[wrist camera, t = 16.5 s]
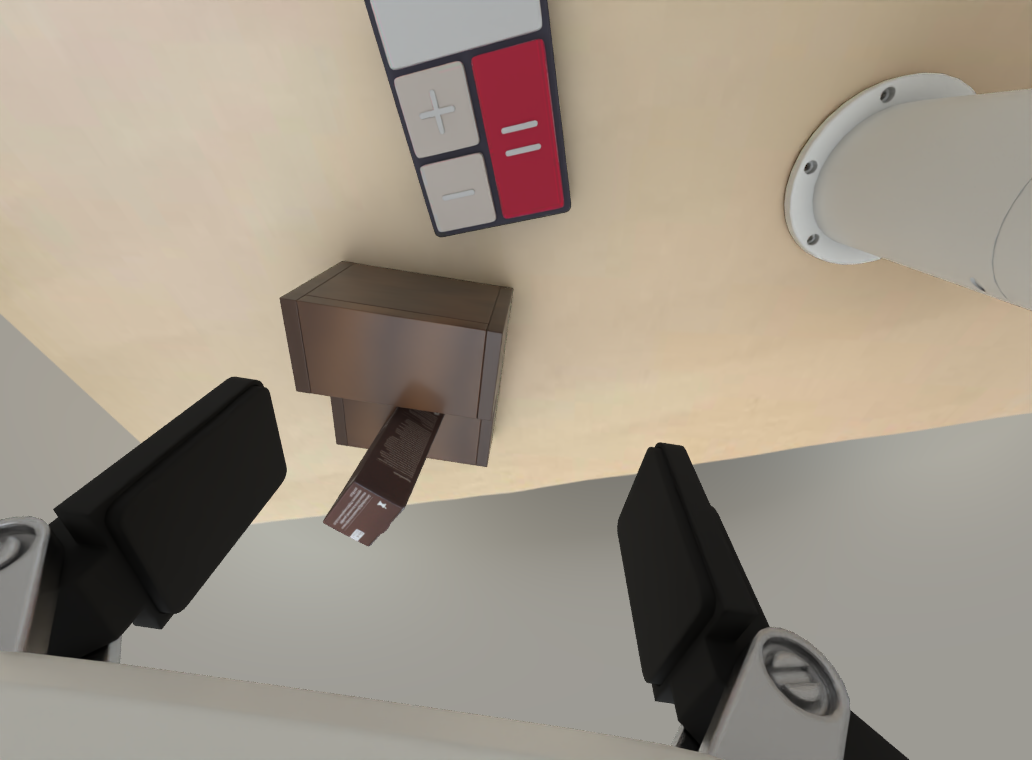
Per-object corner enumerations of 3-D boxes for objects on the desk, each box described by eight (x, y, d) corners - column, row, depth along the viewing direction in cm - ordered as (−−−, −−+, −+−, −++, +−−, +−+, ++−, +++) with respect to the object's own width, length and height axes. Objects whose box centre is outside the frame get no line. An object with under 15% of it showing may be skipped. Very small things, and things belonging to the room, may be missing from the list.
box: (406, 387, 37) (352, 481, 27) (446, 412, 38) (410, 511, 28) (377, 426, 40) (319, 525, 30) (416, 448, 41) (372, 551, 31)
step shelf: (513, 288, 37) (503, 333, 28) (492, 437, 46) (480, 504, 38) (341, 260, 36) (279, 297, 28) (356, 416, 46) (312, 479, 37)
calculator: (433, 241, 31) (354, -17, 23) (445, 228, 35) (379, 0, 27) (572, 213, 30) (539, -76, 22) (569, 202, 33) (539, -49, 25)
